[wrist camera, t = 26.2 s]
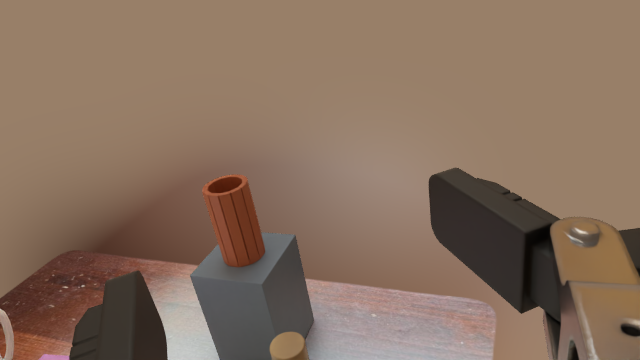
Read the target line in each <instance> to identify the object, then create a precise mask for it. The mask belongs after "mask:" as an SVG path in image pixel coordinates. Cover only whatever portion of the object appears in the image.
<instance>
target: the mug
mask: <svg viewBox="0 0 640 360" xmlns="http://www.w3.org/2000/svg"><path fill="white" fill-rule="evenodd" d="M0 322H1V324H2V326H3V329H4V333H5V337H6V345H7V347H6V354H5V357H4V359H2V357H1V355H0V360H12V358H13V350H14V338H13V331H12V327H11V323H10V320H9V319H8V317H7V315H6V313H5V312H4V311H3V310H1V309H0Z"/></svg>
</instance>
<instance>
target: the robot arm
mask: <svg viewBox="0 0 640 360" xmlns="http://www.w3.org/2000/svg"><path fill="white" fill-rule="evenodd" d="M429 198H430V213H431V225H432V229H433V231H434V234H435V236H436V238H437V239H438V240H439V242H440V243H441V244H442V245H443V246H444V247H446V248H447V249H448V250H449V251H450V252H452V253H453V254H454V255H455V256H456V257H457V258H458V259H459V260H461V261H462V262H463V263H464V264H465V265H466V266H468V268H470V269H471V270H472V271H473V272H474V273H475V274H477V275H478V276H479V277H480V278H481V279H482V280H483V281H484V282H486V283H487V284H488V285H489V286H490V287H491V288H492V289H494V290H495V291H496V292H497V293H498V294H499V295H501V296H502V297H503V298H504V299H505V300H506V301H508V302H509V303H510V304H511V305H512V306H513V307H514V308H515V309H517V310H518V311H519V312H520V313H521V314H522V313H524V312H526V311H529V310H531V309H533V308H536V307H538V306H540V307H541V308H542V309H543V310H544V314H543V324H544V330H545V336H546V342H547V349H548V355H549V360H640V228H636V229H628V230H621V231H618V230H616V228H614V227H613V226H611V225H609V224H608V223H605V222H603V221H600V220H597V219H593V218H586V217H569V218H564V219H559V218H557V217H556V216H554V215H552V214H550V213H549V212H547V211H545V210H543V209H542V208H539V207H538V206H536V205H534V204H533V203H531V202H529V201H527V200H526V199H522V197H520V196H518V195H517V194H515V193H510V190H508V189H506V188H504V187H502V186H501V185H499V184H497V183H494V182H491V181H487V180H483V179H479V178H477V179H476V178H474V177H473V176H471V175H469V174H467V173H466V172H464V171H462V170H461V169H459V168H453V169H450V170H447V171H443V172H441V173H437V174H434V175H432V176H431V177H430V179H429ZM72 345H73V347H71V351H70V356H69V360H168V359H167V342H166V336H165V331H164V327H163V324H162V321H161V318H160V316H159V313H158V311H157V309H156V306H155V304H154V302H153V299H152V297H151V295H150V292H149V290H148V287H147V285H146V283H145V280H144V278H143V276H142V274H141V273H140V271H135V272H131V273H128V274H125V275H122V276H119V277H116V278H113V279H110V280H107V281H106V283H105V290H104V297H103V304H101V305H98V306H95V307H92V308H89V309H88V310H87V311H86V312H85V314H84V315H83V317H82V318H81V320H80V321H79V323H78V324H77V325H76V327H75V332H74V337H73V342H72Z"/></svg>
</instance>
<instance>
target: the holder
mask: <svg viewBox="0 0 640 360" xmlns="http://www.w3.org/2000/svg"><path fill="white" fill-rule="evenodd" d="M203 195H204V199H205V202H206V205H207V208H208V212H209V215H210V218H211V221H212V225H213V228H214V231H215V234H216V237H217V240H218V245H217V246H216V247H215V249H214V250H213V251H212V252H211V253H210V254H209V255H208V256H207V257H206V258H205V260H204V261H203V262H202V263H201V264H200V265H199V266H198V267H197V268H196V270H195V271H194V272H193V273H192V274H191V275H190V277H191V280H192V283H193V286H194V288H195V291H196V294H197V297H198V300H199V302H200V305H201V308H202V311H203V314H204V316H205V319H206V322H207V325H208V327H209V330H210V333H211V336H212V339H213V341H214V344H215V347H216V350H217V353H218V355H219V358H220V360H272V357H271V354H270V344H271V342H272V341H273V339H274V338H275V337H277V336H278V335H280V334H282V333H284V332H297V333H299V334H300V335H302V336H303V338H304V339H305V337H306V335H307V333H308V331H309V329H310V327H311V325H312V323H313V321H314V318H313V313H312V309H311V304H310V300H309V295H308V291H307V286H306V281H305V277H304V272H303V268H302V263H301V258H300V254H299V249H298V245H297V240H296V236H295V235H291V234H276V233H262V232H261V231H260V227H259V223H258V219H257V215H256V211H255V207H254V203H253V200H252V196H251V192H250V188H249V184H248V180H247V178H246V177H245V176H242V175H227V176H223V177H220V178H216V179H214V180H212V181H211V182H208V183H207V184H206V185H205V186H204V187H203Z"/></svg>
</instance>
